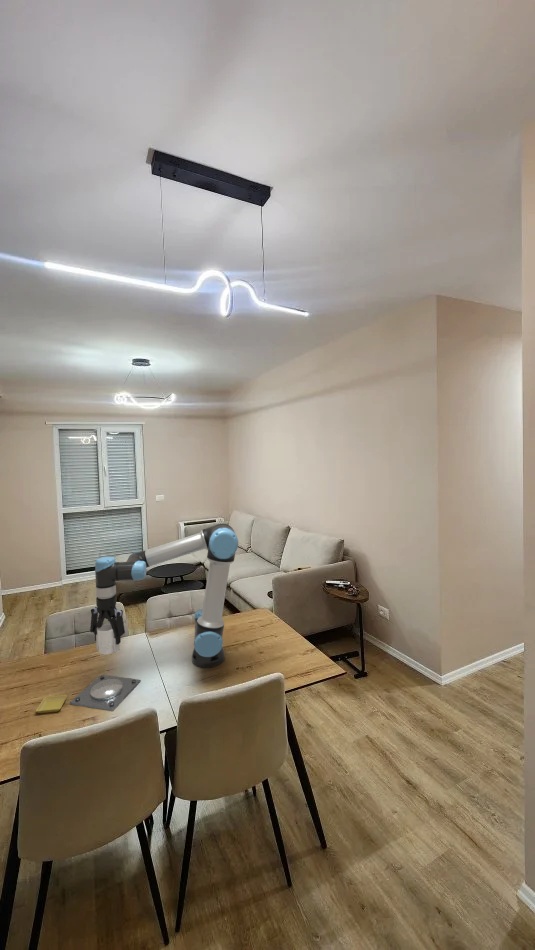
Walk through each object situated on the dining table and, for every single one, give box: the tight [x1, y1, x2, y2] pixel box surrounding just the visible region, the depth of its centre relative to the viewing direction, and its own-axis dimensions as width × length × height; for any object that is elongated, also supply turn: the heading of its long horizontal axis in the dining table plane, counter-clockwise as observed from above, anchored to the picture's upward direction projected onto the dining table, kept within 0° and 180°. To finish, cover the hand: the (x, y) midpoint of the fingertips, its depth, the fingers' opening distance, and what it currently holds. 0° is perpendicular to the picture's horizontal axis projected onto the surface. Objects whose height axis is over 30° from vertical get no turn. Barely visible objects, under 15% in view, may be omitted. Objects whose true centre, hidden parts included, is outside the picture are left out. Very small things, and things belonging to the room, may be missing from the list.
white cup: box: [97, 622, 115, 656], centre depth 161 cm, size 8×8×10 cm
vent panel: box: [69, 674, 142, 712], centre depth 158 cm, size 19×19×2 cm
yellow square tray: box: [35, 694, 68, 714], centre depth 150 cm, size 9×9×2 cm
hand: (108, 650), depth 161 cm, fingers closed on white cup, 7 cm apart
